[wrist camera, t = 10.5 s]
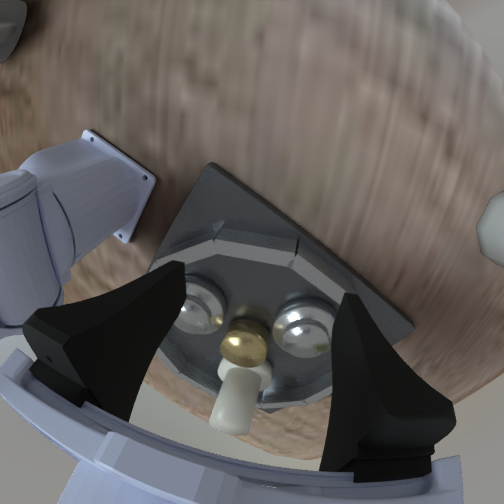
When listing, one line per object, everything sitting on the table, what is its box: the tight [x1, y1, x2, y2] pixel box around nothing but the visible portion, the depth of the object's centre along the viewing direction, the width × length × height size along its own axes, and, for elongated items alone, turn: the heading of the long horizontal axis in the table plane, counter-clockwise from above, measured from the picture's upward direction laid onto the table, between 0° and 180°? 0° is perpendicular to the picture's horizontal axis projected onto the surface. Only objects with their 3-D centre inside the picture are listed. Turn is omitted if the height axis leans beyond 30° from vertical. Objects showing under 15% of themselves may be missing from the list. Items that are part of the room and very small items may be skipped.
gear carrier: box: [146, 162, 416, 414], centre depth 26 cm, size 24×24×4 cm
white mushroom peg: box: [209, 357, 273, 435], centre depth 26 cm, size 6×6×8 cm
